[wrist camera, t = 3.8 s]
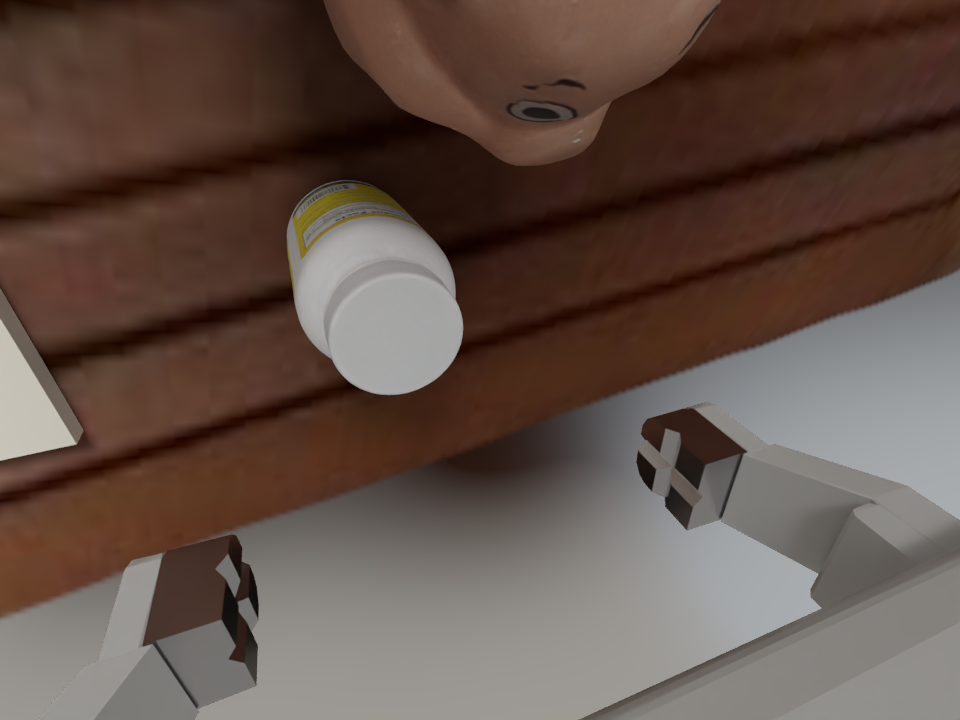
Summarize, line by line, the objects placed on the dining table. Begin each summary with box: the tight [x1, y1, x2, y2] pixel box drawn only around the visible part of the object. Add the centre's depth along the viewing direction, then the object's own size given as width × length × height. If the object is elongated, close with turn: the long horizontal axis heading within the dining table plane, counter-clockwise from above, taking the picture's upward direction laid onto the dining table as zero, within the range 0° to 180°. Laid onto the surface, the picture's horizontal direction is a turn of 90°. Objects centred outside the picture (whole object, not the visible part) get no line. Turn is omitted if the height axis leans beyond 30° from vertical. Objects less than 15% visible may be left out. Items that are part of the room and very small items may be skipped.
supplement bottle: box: [287, 180, 463, 395], centre depth 18 cm, size 5×5×10 cm
